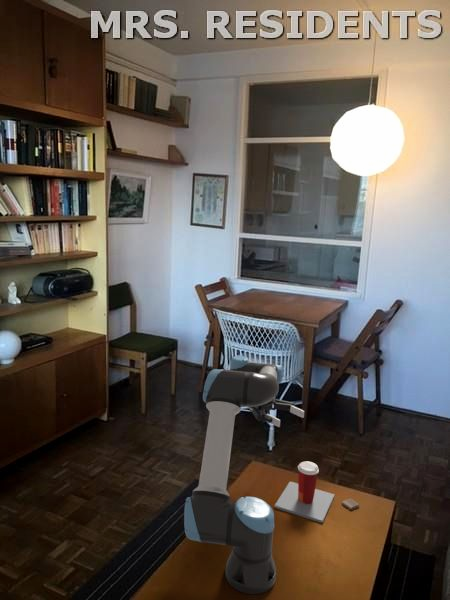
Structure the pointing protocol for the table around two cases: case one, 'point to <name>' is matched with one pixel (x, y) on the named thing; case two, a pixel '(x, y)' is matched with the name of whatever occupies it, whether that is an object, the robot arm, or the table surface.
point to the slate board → (310, 511)
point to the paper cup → (307, 481)
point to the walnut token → (350, 504)
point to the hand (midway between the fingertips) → (291, 418)
